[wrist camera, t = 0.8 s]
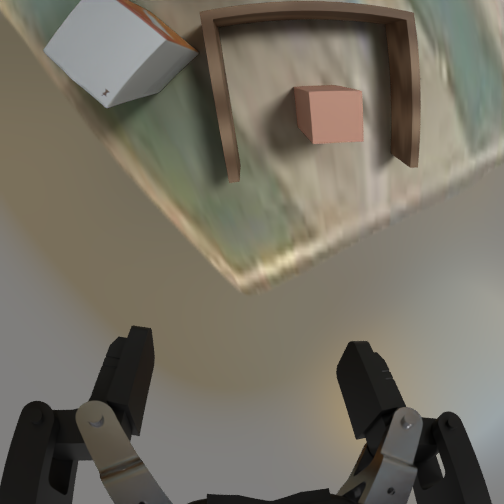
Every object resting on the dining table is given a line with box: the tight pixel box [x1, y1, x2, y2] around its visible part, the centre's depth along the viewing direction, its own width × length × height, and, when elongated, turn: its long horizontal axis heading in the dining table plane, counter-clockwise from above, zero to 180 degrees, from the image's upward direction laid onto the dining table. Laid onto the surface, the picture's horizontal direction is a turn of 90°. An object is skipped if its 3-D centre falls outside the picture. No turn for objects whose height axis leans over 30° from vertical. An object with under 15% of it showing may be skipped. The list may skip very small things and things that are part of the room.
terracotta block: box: [294, 85, 363, 144], centre depth 24 cm, size 4×4×8 cm
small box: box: [43, 0, 199, 108], centre depth 18 cm, size 8×6×13 cm
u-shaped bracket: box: [200, 1, 421, 183], centre depth 24 cm, size 17×20×5 cm
